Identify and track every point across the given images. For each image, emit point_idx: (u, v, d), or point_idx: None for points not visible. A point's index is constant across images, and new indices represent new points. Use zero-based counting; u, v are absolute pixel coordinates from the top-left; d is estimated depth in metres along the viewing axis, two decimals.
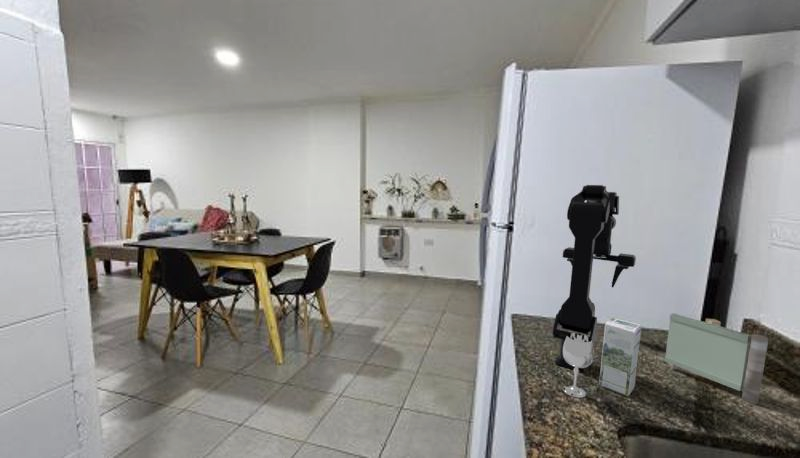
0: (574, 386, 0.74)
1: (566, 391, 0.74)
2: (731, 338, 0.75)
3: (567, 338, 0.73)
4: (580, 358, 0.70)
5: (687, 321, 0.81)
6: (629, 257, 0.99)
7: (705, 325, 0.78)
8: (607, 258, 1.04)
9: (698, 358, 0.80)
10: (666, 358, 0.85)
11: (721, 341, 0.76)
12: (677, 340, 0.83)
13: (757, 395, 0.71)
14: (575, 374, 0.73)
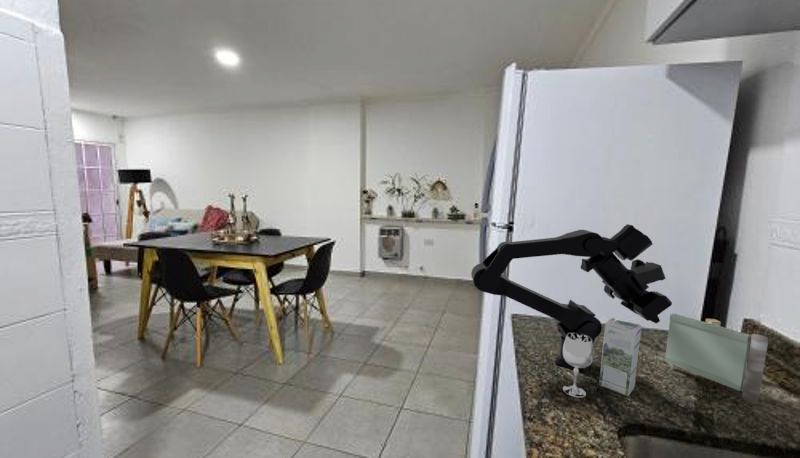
0: (574, 386, 0.74)
1: (566, 391, 0.74)
2: (731, 338, 0.75)
3: (567, 338, 0.73)
4: (580, 358, 0.70)
5: (687, 321, 0.81)
6: (640, 309, 0.75)
7: (705, 325, 0.78)
8: (638, 300, 0.80)
9: (698, 358, 0.80)
10: (666, 358, 0.85)
11: (721, 341, 0.76)
12: (677, 340, 0.83)
13: (757, 395, 0.71)
14: (575, 374, 0.73)
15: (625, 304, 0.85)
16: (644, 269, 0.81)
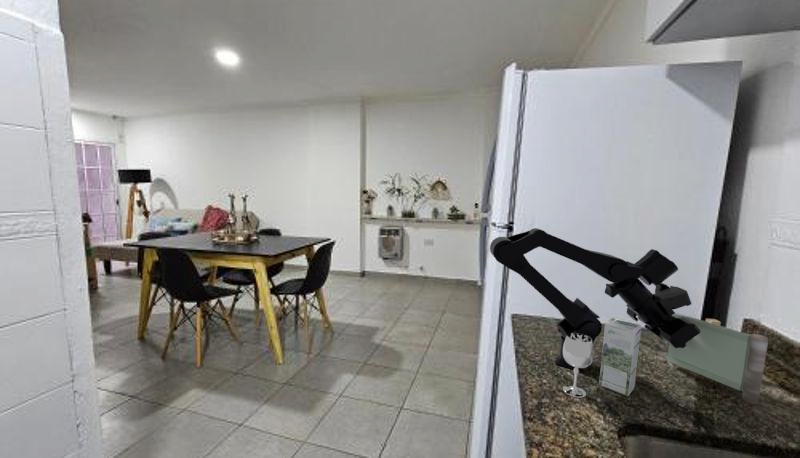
0: (574, 386, 0.74)
1: (566, 391, 0.74)
2: (731, 338, 0.75)
3: (567, 338, 0.73)
4: (580, 358, 0.70)
5: (689, 320, 0.82)
6: (668, 336, 0.75)
7: (706, 325, 0.79)
8: (664, 325, 0.80)
9: (700, 357, 0.80)
10: (668, 357, 0.86)
11: (722, 340, 0.76)
12: None
13: (757, 395, 0.71)
14: (575, 374, 0.73)
15: (649, 328, 0.85)
16: (669, 294, 0.81)
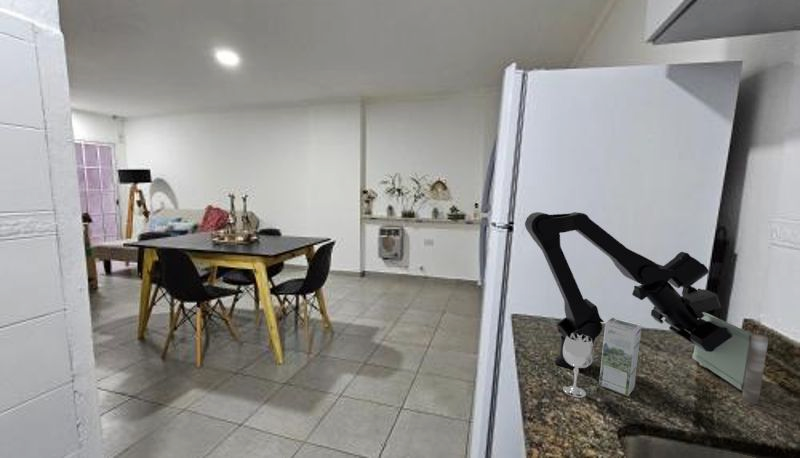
0: (574, 386, 0.74)
1: (566, 391, 0.74)
2: (738, 337, 0.75)
3: (567, 338, 0.73)
4: (580, 358, 0.70)
5: (709, 319, 0.83)
6: (699, 339, 0.75)
7: (720, 323, 0.80)
8: (693, 328, 0.80)
9: (715, 356, 0.81)
10: (693, 355, 0.87)
11: (731, 339, 0.77)
12: None
13: (757, 395, 0.71)
14: (575, 374, 0.73)
15: (675, 330, 0.85)
16: (698, 297, 0.80)
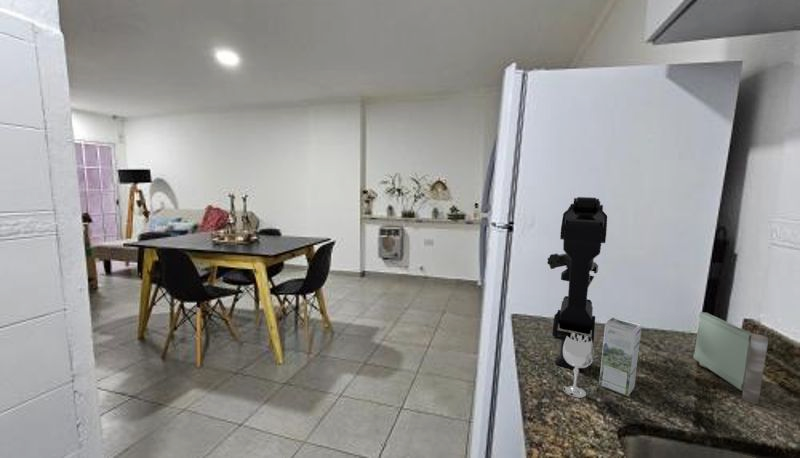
0: (574, 386, 0.74)
1: (566, 391, 0.74)
2: (738, 337, 0.75)
3: (567, 338, 0.73)
4: (580, 358, 0.70)
5: (710, 319, 0.83)
6: (595, 263, 1.01)
7: (721, 323, 0.80)
8: None
9: (716, 356, 0.81)
10: (694, 355, 0.87)
11: (732, 339, 0.77)
12: (703, 338, 0.85)
13: (757, 395, 0.71)
14: (575, 374, 0.73)
15: (589, 279, 0.93)
16: (561, 254, 1.00)
